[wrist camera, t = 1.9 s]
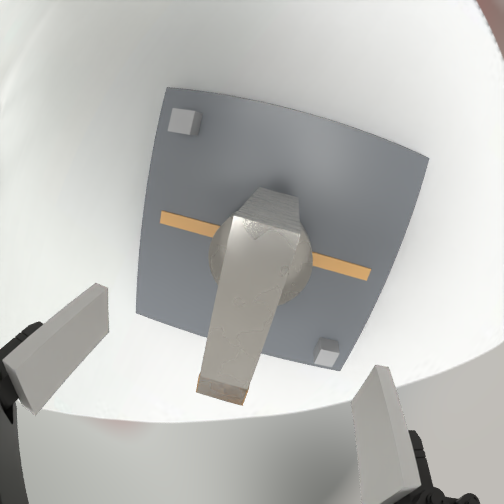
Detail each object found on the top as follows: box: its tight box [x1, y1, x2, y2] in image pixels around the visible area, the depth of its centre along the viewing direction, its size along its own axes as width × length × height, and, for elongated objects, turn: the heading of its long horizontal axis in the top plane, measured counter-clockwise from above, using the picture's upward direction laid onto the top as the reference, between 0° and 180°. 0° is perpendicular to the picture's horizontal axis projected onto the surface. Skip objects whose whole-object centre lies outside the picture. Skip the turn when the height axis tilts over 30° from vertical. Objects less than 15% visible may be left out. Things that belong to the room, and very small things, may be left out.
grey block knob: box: [196, 187, 313, 405], centre depth 19 cm, size 11×8×11 cm
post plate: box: [136, 87, 429, 371], centre depth 26 cm, size 24×24×3 cm
